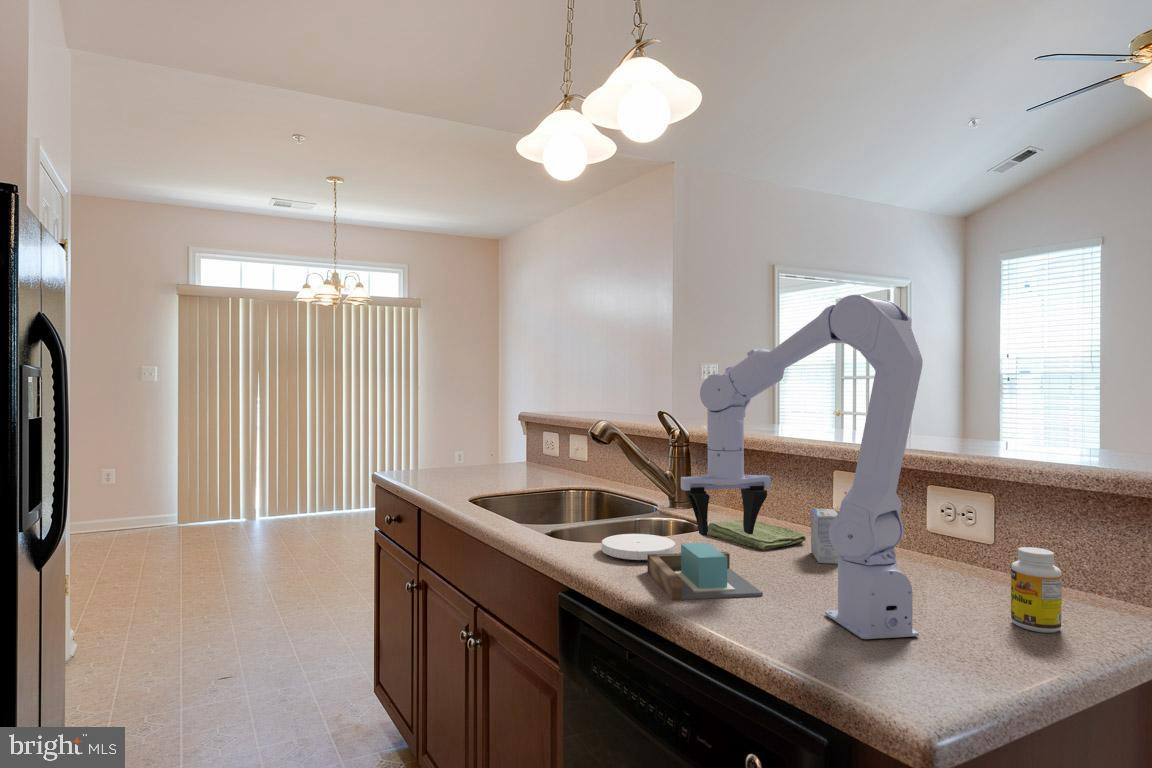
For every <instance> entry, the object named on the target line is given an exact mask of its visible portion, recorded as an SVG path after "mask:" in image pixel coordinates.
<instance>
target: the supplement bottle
mask: <svg viewBox="0 0 1152 768" xmlns="http://www.w3.org/2000/svg"><path fill="white" fill-rule="evenodd" d="M1010 567H1011V568H1010V619H1011V621H1012V623H1013V624H1015V626H1018V627H1019V628H1021V629H1025V630H1027V631H1030V632H1031V631H1032V632H1036V633H1042V634H1043V633H1046V634H1051V633H1057V632H1059V631H1060V630H1061V629H1062V601H1063V600H1062V597H1063V596H1062V593H1063V591H1062V590H1063V589H1062V587H1063V585H1062V583H1063V581H1062V577H1063V574H1062V570H1061V569H1060V568H1059V567H1058V566H1056V565H1055V552H1053V551H1051V550H1049V549H1045V548H1040V547H1031V546H1030V547H1029V546H1022V547H1018V549H1017V560H1016V561H1012V563H1011V565H1010Z"/></svg>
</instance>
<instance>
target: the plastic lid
mask: <svg viewBox="0 0 1152 768" xmlns="http://www.w3.org/2000/svg"><path fill="white" fill-rule="evenodd" d="M601 551H602V552H603V553H604V554H605V555H608V556H610V557H613V558H616V559H617V558H618V559H623V560H632V561H633V560H635V561H636V560H637V561H641V560H642V561H648V554H673V553H676V542H675V541H674V540H672V539H671V538H669V537H666V536H662V535H656V534H648V533H647V534H646V533H645V534H644V533H621V534H615V535H611V536H608V537H607V536H606V537H605V538H603V539H602V540H601Z"/></svg>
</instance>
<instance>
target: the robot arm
mask: <svg viewBox="0 0 1152 768" xmlns="http://www.w3.org/2000/svg"><path fill="white" fill-rule="evenodd" d="M912 321H913V319H912V318H911V317H910V316H909V315H908V314H907V313H906V312H905V311H904V309H902V308H901V307H900V306H899V305H898V304H897V303H895V302H893V301H890V300H886V299H885V300H884V299H883V300H881V299H875V298H871V297H867V296H864V295H861V294H851V295H850V294H849V295H848V296H847V295H846V296H844V297H843V298H841V299H840V300H839V301H837V303H836V304H832V305H829V306H827V307H825V308H824V309H823V310H822V311H821V312H820V314H819V315H818V316H816V317H815V318H813V320H811V321H810V322H809V323H807V324H806V325H804V326H803V327H802V328H800V329H798V330H797V331H796V332H795V333H794V334H792V335H791V336H789V337H788V338H787V339H785V340H784V341H783V342H781V343H780V344H778V345H777V346H776V347H775V348H773V349H772V350H769V349H765V348H760V349H751V350H750V351H748V352H747V353H746V355H747V357H746V358H744V359H743V360H741V361H740V362H738V363H737V364H735V365H734V366H733V365H732V366H730V365H729V366H728V367H726V368H725V370H724V373H723V374H719V373H714V374H709V375H708V376H707V378H705V379H704V380H703V382H702V383H701V386H700V388H699V389H700V390H699V396H700V397H699V398H700V401H701V403H702V405H703V406H704V407H705V408H706V411H707V474H704V475H693V476H692V475H691V476H680V489H681V490H682V491H685V495H686V497H687V499H688V501H689V503H690V505H691V507H692V511H693V513H694V517H695V521H696V523H697V524H696V525H697V528H698V534H700V535H701V536H703V537H707V536H708V535H709V534H708V525H709V524H708V523H709V522H708V520H709V519H708V512H709V503H710V495H709V494H708V493H707V490H727V489H728V490H729V489H730V490H731V489H733V490H734V489H740V492H741V493H740V495H741V499H742V509H743V513H742V514H743V519H742V520H743V527H744V532H746V533H748V534H753V530H754V526H755V522H756V521H757V518H758V516H759V513H760V510H761V508H762V506H763V504H764V503H765V501H766V499H767V498H768V490H766V489H771V483H772V482H771V481H772V479H771V476H770V475H766V474H745V460H744V459H745V455H744V454H745V453H744V452H745V450H744V448H745V447H744V444H745V439H744V438H745V434H744V432H745V431H744V430H745V429H744V428H745V426H744V425H745V423H744V422H745V417H746V409H747V407H748V406H749V405H750V402H751V399H753V398H754V397H756V396H758V395H759V394H761V393H763V392H764V391H766V390H767V389H769V388H770V387H773V386H775V385H776V384H777V383H779V382H780V381H782V380H783V378H784V373H785V369H786V368H788V367H790V366H792V365H794V364H795V363H797V362H800V361H801V360H803V359H805V358H806V357H808V356H810V355H812V354H814V353H815V352H818V351H819V350H820V349H821V350H822V349H823V348H825V347H827V346H828V345H830V344H831V345H832V344H847V345H848V346H849V347H852V348H853V349H855V350H857V351H858V352H860V354H861V355H862V356H863V358H865V361H867V362H868V363H869V364H870V365H871V366H872V368H873V369H874V372H875V373H874V378H873V382H872V387H871V393H870V396H869V397H870V398H869V402H868V403H869V404H868V408H867V412H866V413H867V414H866V418H865V422H864V423H865V424H864V429H863V433H862V437H861V443H860V448H859V454H858V457H857V458H858V459H857V463H856V469H855V471H854V472H855V473H854V479H853V484H852V485H851V487H850V489H849V490H848V491H847V493H846V494H845V496H844V497H843V498H842V500H841V502H840V508H839V510H838V512H837V513H838V514H837V516H836V517H835V518H834V519H833V520H832V522H831V524H830V526H829V538H830V542H831V544H832V546H833V547H834V549H835V550H836V551H837V552H838V564H837V609H835V610H834V609H832V610H831V609H829V610H825V611H824V615H826V616H827V617H829V618H830V619H832V621H835V622H836V623H838V624H839V625H840V626H842V627H843V628H845V629H846V630H848V631H849V632H851V633H852V634H854V635H856V636H857V637H858V638H860V639H861V640H875V639H876V640H877V639H891V638H892V639H893V638H909V637H919V632H918V631H917V630H915V629H913V587H912V583H911V582H910V580H909V578H908V577H907V576H906V575H905V574H904V573H903V572H902V571H901V570H900V569H899V567H898V565H897V564H898V563H897V555H896V554H897V553H896V550H895V548H896V547H897V546H898V545H899V544H900V543H901V541H902V539H903V537H904V530H905V529H904V524H903V520H902V517H901V516H902V515H901V512H902V506H903V504H902V500H901V499H900V497H899V495H898V493H897V488H898V486H899V485H898V484H899V479H900V475H901V469H902V467H903V461H904V457H905V450H906V445H907V441H908V437H909V433H910V428H911V424H912V423H911V421H912V417H913V412H914V406H915V402H916V398H917V393H918V389H919V383H920V378H921V374H922V369H923V356H922V353H921V350H920V348H919V346H918V343H917V341H916V337H915V335H914V333H913V332H914V331H913V329H912Z"/></svg>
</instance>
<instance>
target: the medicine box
mask: <svg viewBox="0 0 1152 768" xmlns="http://www.w3.org/2000/svg"><path fill="white" fill-rule="evenodd" d="M838 513H839V512H837V511H836V510H835V509H832V508H812V509H810V548H811V549H810V551H811V554H812V555H813V557H814V558H815V560H816V562H817V563H818V564H826V565H828V564H831V565H838V552H837V551H836V550H835V549H834V547H833V546H832V544H831V542H830V538H829V526H830V524H831V522H832V520H833V519H834V518H835V517H836V516H837V514H838Z"/></svg>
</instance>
